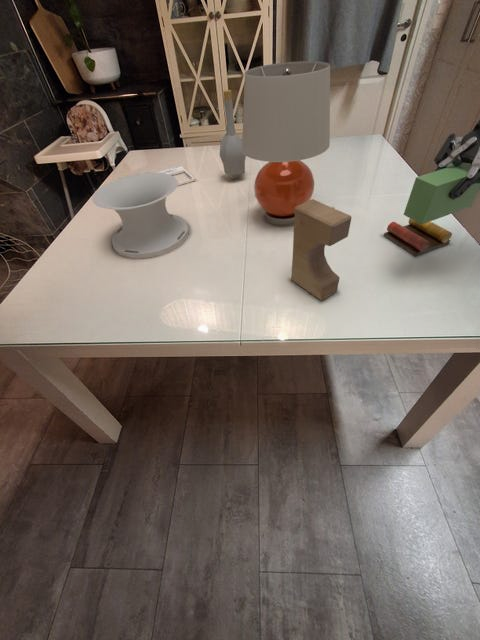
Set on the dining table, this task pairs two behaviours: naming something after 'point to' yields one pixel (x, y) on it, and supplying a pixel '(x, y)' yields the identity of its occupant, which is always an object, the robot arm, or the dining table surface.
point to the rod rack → (418, 236)
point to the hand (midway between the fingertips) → (439, 191)
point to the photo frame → (177, 171)
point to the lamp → (285, 132)
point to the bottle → (231, 143)
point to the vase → (143, 214)
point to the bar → (439, 194)
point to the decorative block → (316, 246)
